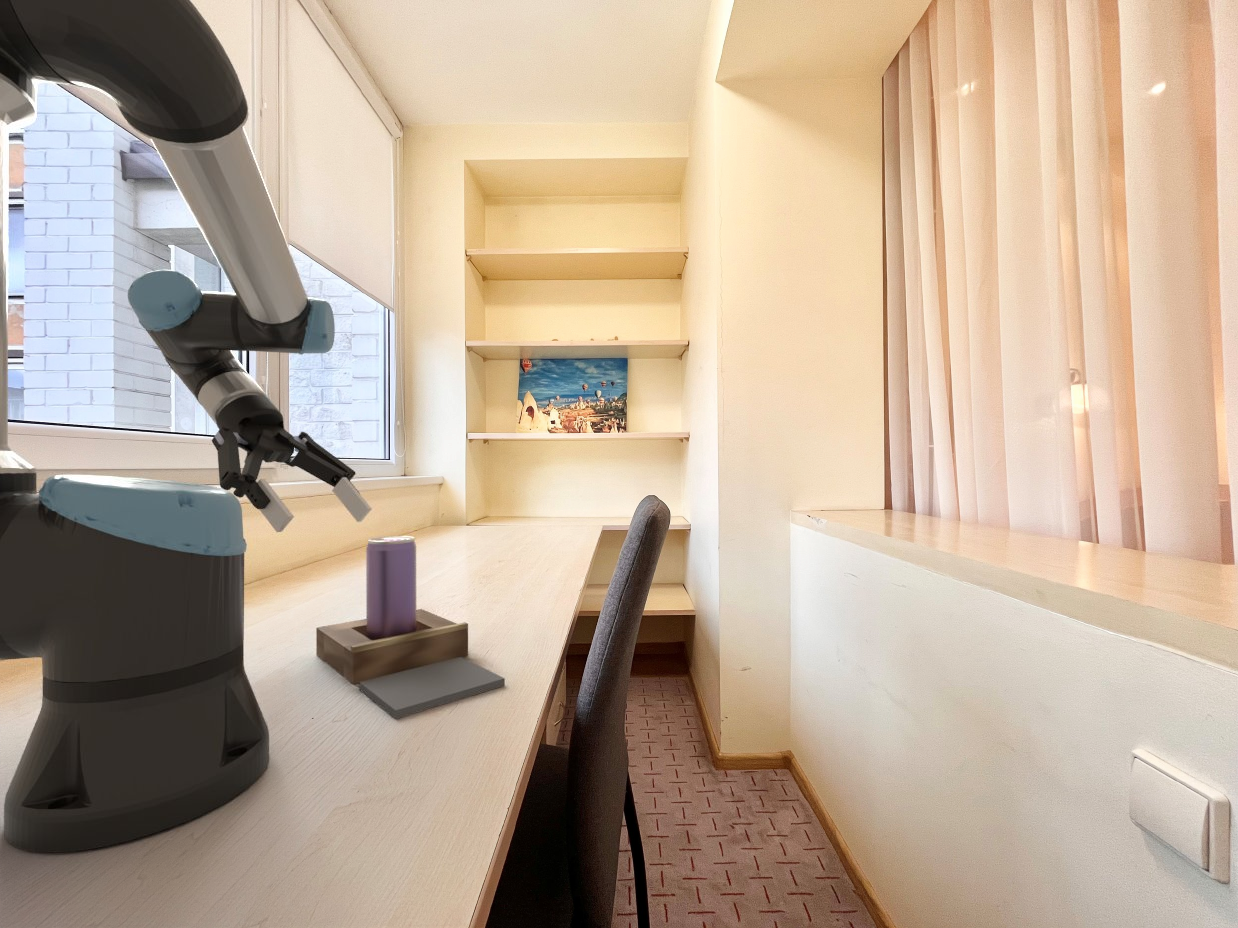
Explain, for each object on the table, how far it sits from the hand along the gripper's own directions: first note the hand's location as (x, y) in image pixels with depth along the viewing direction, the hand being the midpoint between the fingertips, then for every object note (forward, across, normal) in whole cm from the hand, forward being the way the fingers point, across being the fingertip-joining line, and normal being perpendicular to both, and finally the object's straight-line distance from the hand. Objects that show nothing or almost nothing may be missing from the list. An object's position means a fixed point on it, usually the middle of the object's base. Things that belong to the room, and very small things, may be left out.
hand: (328, 519), depth 76 cm
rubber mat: (+28, +8, +3) cm, 29 cm away
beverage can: (+20, 0, -5) cm, 20 cm away
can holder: (+19, 0, -5) cm, 20 cm away
